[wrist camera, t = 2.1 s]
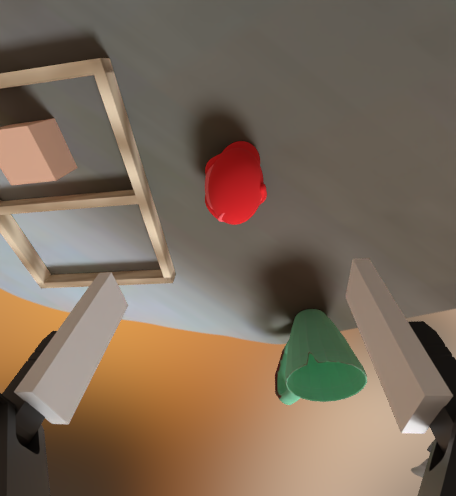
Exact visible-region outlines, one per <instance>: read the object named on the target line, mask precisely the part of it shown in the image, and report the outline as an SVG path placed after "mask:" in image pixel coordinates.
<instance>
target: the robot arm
mask: <svg viewBox="0 0 456 496" xmlns="http://www.w3.org/2000/svg"><path fill="white" fill-rule="evenodd" d="M346 300H347V302H348V305H349V307H350V309H351V312H352V314H353V317H354V319H355V322H356V324H357V326H358V329H359V331H360V334H361V336H362V338H363V341H364V343H365V346H366V348H367V351H368V353H369V356H370V358H371V361H372V363H373V365H374V368H375V370H376V373H377V375H378V378H379V380H380V382H381V385H382V387H383V390H384V392H385V395H386V397H387V400H388V402H389V404H390V407H391V409H392V412H393V414H394V417H395V419H396V421H397V424H398V426H399V429H400V431H401V433H422V434H423V433H425V432H426V431H427V430H428V428H429V427H430V428H431V430H432V432H433V434H434V436H435V438H436V439H435V440H434V441H433V442H432V443H431V445H430V446H429V447H428V449H427V450H428V451H429V452H431V453H430V456H429V459H428V463H427V466H426V469H425V473H424V476H423V479H422V483H421V486H420V490H419V493H418V496H456V360H455V358H454V357H452V354H451V352H450V351H449V350H448V348H447V347H445V344H444V342H443V341H442V339H441V338H440V337H439V335H438V334H437V332H436V331H435V330H433V329H432V328H431V327H430V326H428V325H427V324H426V323H425V322H423V321H421V322H408V321H407V320H406V318H405V316H404V315H403V313H402V311H401V310H400V308H399V307H398V305H397V303H396V302H395V300H394V298H393V297H392V295H391V294H390V292H389V290H388V289H387V287H386V285H385V284H384V282H383V280H382V279H381V277H380V276H379V274H378V272H377V271H376V269H375V267H374V266H373V264H372V263H371V261H370V259H369V258H362V259H353V261H352V266H351V271H350V276H349V282H348V287H347V292H346ZM127 307H128V304H127V302H126V300H125V298H124V296H123V294H122V292H121V290H120V288H119V286H118V284H117V282H116V280H115V278H114V276H113V274H112V272H106V273H99V274H98V275H97V277H96V278H95V279H94V281H93V282H92V284H91V285H90V286H89V288H88V289H87V291H86V292H85V293H84V295H83V296H82V297H81V299H80V300H79V302H78V303H77V304H76V306H75V307H74V309H73V310H72V311H71V313H70V314H69V316H68V317H67V318H66V320H65V321H64V323H63V324H62V325H61V327H60V328H59V330H58V331H52V332H51V333H50V334H49V335H48V336H47V337H46V338H44V339H43V340H42V342H41V343H40V344H39V345H38V347H37V348H36V349H35V352H34V353H33V354H32V355H31V356H30V357H29V359H28V361H26V363H25V364H24V365H23V367H22V368H21V369H20V371H19V372H18V373H17V375H16V376H15V377H14V379H13V380H12V381H11V383H10V384H9V386H8V387H7V388H6V389H5V391H4V392H3V393H2V394H1V393H0V496H50V488H49V478H48V467H47V458H46V447H45V437H44V429H43V427H42V425H41V424H42V422H43V420H44V418H46V419H47V420H49V421H50V422H51V423H52V424H69V422H70V420H71V418H72V416H73V414H74V412H75V410H76V408H77V406H78V404H79V402H80V400H81V398H82V396H83V394H84V392H85V390H86V388H87V386H88V384H89V382H90V380H91V378H92V376H93V374H94V372H95V370H96V368H97V366H98V364H99V362H100V360H101V358H102V356H103V354H104V352H105V351H106V349H107V347H108V344H109V343H110V340H111V338H112V336H113V335H114V333H115V330H116V329H117V327H118V325H119V322H120V321H121V319H122V317H123V315H124V313H125V311H126V309H127Z"/></svg>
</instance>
